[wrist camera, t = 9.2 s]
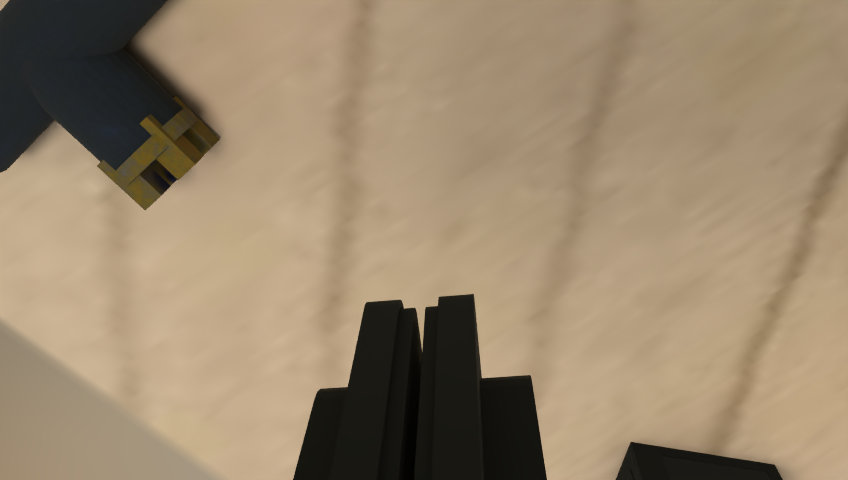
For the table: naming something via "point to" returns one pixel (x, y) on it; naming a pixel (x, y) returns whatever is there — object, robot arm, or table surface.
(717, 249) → the table surface
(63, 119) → the pipe connector
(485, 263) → the table surface
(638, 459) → the digital camera
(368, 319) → the robot arm
